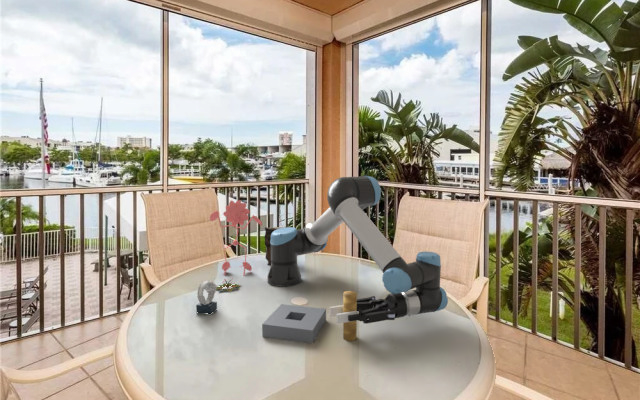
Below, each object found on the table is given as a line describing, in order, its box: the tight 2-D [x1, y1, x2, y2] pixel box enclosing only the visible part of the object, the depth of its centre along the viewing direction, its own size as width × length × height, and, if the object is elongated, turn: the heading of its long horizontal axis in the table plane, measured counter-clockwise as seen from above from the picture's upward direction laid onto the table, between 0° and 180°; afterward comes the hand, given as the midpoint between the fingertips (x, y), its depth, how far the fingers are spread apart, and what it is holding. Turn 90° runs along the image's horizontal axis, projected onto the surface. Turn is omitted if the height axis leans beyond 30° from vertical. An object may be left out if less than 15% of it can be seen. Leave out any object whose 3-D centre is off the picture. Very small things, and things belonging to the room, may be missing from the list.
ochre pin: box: [342, 290, 358, 342], centre depth 107 cm, size 4×4×14 cm
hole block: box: [261, 303, 327, 344], centre depth 114 cm, size 16×16×4 cm
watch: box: [195, 280, 218, 315], centre depth 127 cm, size 6×8×11 cm
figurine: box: [209, 199, 263, 276], centre depth 173 cm, size 15×26×35 cm, turn 86°
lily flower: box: [216, 278, 241, 293], centre depth 151 cm, size 12×12×5 cm
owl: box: [264, 226, 288, 267], centre depth 185 cm, size 13×13×20 cm
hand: (333, 315), depth 105 cm, fingers open, 4 cm apart
